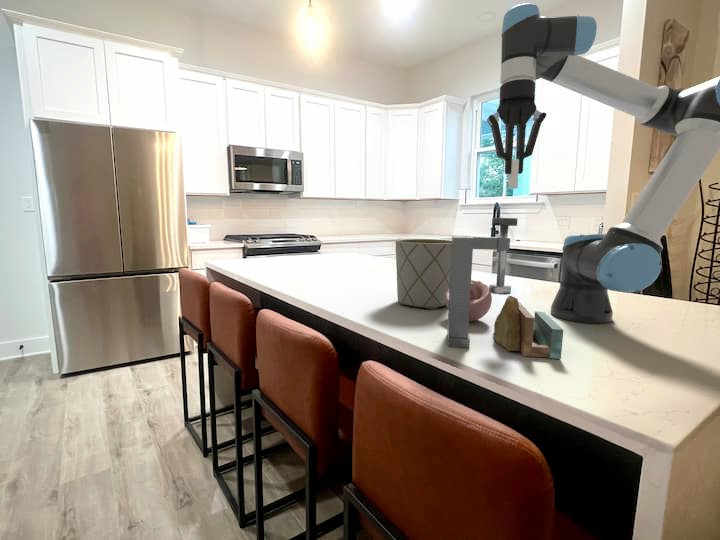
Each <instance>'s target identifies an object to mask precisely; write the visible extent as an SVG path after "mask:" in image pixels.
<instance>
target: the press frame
mask: <svg viewBox="0 0 720 540" xmlns="http://www.w3.org/2000/svg"><path fill="white" fill-rule="evenodd" d="M451 241H452V247H451V268H450V289H449V309H448V308H447V310H448V311H447V313H448V315H447V331H446V332H447V335H446V336H447V347H448V348H458V349H470V345H471V343H470V341H471V339H470V335H469V322H470V321H469V308H470V290H471V280H472V271H473V269H472V268H473V255H474V254H473V251H474V250H494V251H499V250H507V251H510V249H511V248H510V247H511V246H510V245H511V238H510V237H508V238H500V236H471V235H451Z"/></svg>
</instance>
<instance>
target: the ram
mask: <svg viewBox="0 0 720 540" xmlns="http://www.w3.org/2000/svg"><path fill="white" fill-rule="evenodd" d="M491 226H499V237H500V238H509V236H508V235H509V227H510V226H513V227H516V226H518V218H517V217H516V218H515V217H514V218H512V217H492V218H491ZM507 253H508V250H498V254H497V255H498V256H497V271H496V282H495V283H490V284H489V285H488V287H489V292H490V293H491V294H493V295H499V296H500V295H501V296H502V295H503V296H504V295H507V296H509V295H511V293H512V286H511V285H510V284H505V280H506V279H505V278H506V266H507V265H506V264H507Z"/></svg>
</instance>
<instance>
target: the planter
mask: <svg viewBox="0 0 720 540" xmlns="http://www.w3.org/2000/svg"><path fill="white" fill-rule="evenodd" d="M451 247H452V239H451V240H449V239H437V238H436V239H435V238H434V239H433V238H431V239H430V238H404V239H396V240H395V265H396V268H395V269H396V288H397V289H396V290H397V291H396V292H397V301H398V304H399V305H404V306H405V305H407V306H411V307H416V308H424V309H429V310H433V311H435V310H437V309H438V308H440V307H443V306H446V302H445V294H446V292H447V291H448V289H449V288H450V268H451Z"/></svg>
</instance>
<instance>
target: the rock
mask: <svg viewBox="0 0 720 540" xmlns="http://www.w3.org/2000/svg"><path fill="white" fill-rule="evenodd" d="M518 302H519V300H518V298H517V297H515V296H512V295H507V298H506V300H505V302H504V304H503V305H502V307H501V310H500V311H499V312H500V313H498V315H497V317H496V318H495V321H494V325H493V327H494V329H493V330H494V331H493V333H492V336H493V340H494V341H496V343H497V344H499V345H501V346H502V347H503V348H506V350H507V351H509V352H512V351H514V352H515V351H520V343H521V333H520V331H521V326H520V313H519V304H518Z"/></svg>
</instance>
